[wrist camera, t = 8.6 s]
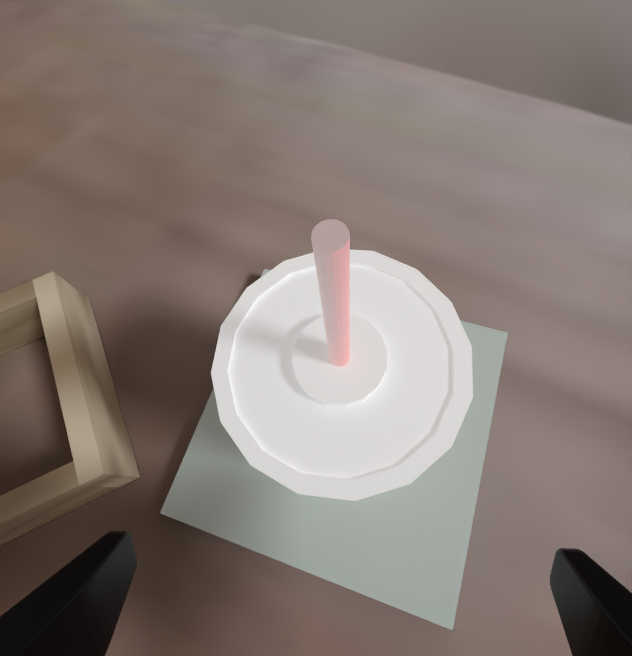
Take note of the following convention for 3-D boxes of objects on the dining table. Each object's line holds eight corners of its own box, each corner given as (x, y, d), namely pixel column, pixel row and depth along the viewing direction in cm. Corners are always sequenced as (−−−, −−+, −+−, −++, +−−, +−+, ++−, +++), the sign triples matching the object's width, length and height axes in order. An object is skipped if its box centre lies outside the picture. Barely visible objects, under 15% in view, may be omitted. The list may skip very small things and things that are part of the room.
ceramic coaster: (446, 623, 16) (452, 630, 15) (169, 512, 18) (159, 513, 17) (500, 340, 20) (507, 332, 19) (268, 278, 22) (264, 268, 21)
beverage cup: (300, 340, 20) (203, 37, 7) (430, 376, 19) (616, 97, 6) (253, 471, 18) (-14, 400, 5) (397, 520, 16) (569, 608, 4)
